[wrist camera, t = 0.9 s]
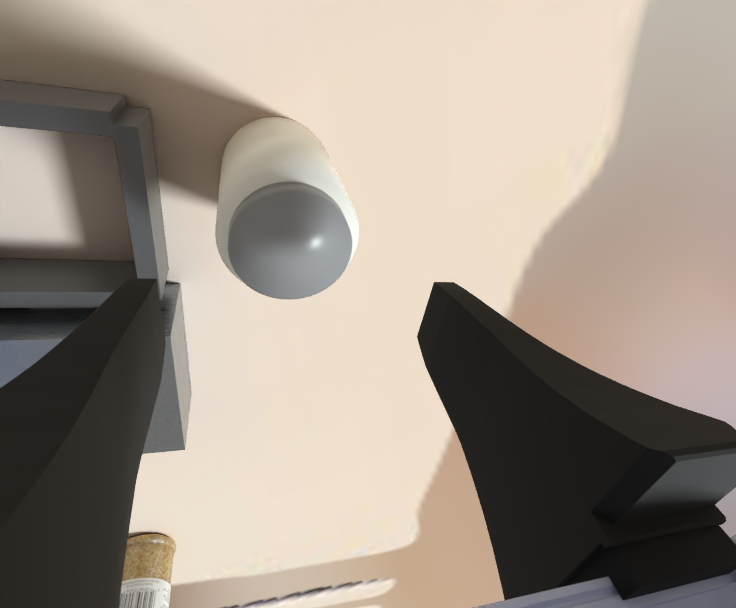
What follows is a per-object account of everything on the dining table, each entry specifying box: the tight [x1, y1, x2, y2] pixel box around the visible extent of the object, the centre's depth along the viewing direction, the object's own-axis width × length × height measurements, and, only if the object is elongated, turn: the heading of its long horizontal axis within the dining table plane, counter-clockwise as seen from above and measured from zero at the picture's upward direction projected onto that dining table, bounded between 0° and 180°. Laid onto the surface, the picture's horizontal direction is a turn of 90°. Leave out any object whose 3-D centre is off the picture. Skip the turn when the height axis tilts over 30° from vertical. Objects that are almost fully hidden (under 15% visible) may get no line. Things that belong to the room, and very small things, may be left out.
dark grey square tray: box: [0, 80, 169, 309], centre depth 17 cm, size 8×9×2 cm
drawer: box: [0, 284, 191, 454], centre depth 20 cm, size 11×8×5 cm
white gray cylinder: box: [215, 117, 359, 299], centre depth 17 cm, size 5×5×7 cm
